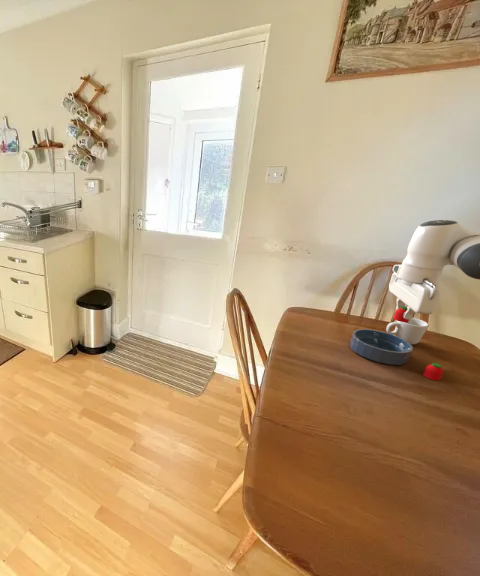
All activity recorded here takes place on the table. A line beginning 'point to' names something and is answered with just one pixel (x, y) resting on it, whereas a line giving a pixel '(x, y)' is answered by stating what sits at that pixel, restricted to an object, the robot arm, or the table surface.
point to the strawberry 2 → (433, 371)
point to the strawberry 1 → (400, 314)
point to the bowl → (381, 346)
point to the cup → (409, 330)
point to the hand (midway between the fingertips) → (402, 315)
